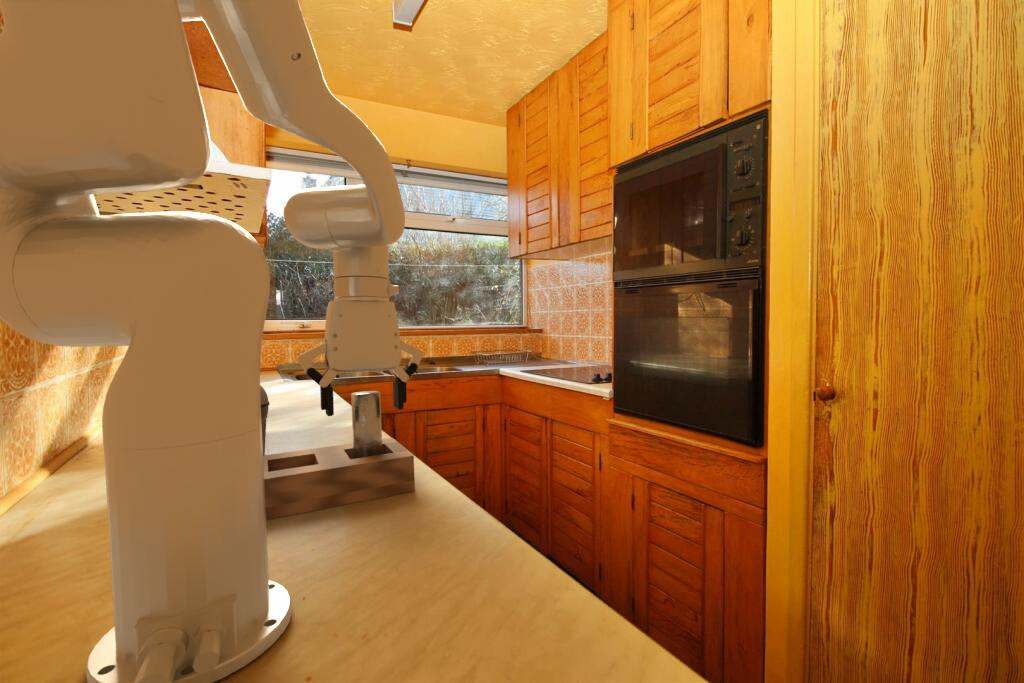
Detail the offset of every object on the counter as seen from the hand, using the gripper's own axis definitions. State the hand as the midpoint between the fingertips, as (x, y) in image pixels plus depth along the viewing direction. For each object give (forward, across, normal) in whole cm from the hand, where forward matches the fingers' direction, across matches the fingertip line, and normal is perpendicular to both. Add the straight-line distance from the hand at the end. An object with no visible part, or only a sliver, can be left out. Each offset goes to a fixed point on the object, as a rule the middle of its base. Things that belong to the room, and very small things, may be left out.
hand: (365, 411), depth 67 cm
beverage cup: (+11, +16, -13) cm, 23 cm away
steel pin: (+9, 0, -1) cm, 9 cm away
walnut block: (+11, +4, -1) cm, 12 cm away
